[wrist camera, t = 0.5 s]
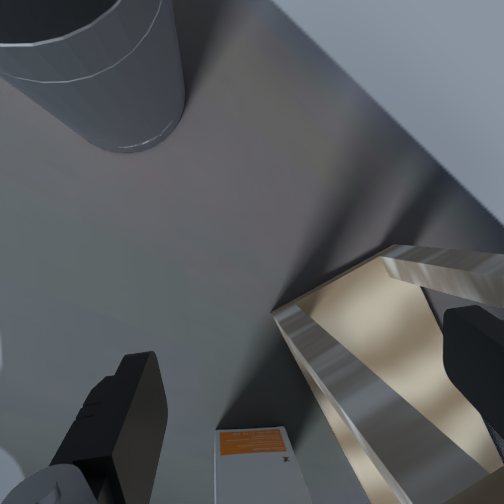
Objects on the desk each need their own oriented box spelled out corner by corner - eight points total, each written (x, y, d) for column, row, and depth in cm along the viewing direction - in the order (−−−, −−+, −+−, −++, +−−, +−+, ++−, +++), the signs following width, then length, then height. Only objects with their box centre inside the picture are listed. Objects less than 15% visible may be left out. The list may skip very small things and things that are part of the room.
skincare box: (284, 423, 32) (330, 540, 20) (284, 471, 32) (329, 615, 20) (212, 427, 31) (215, 551, 19) (212, 477, 31) (215, 629, 19)
